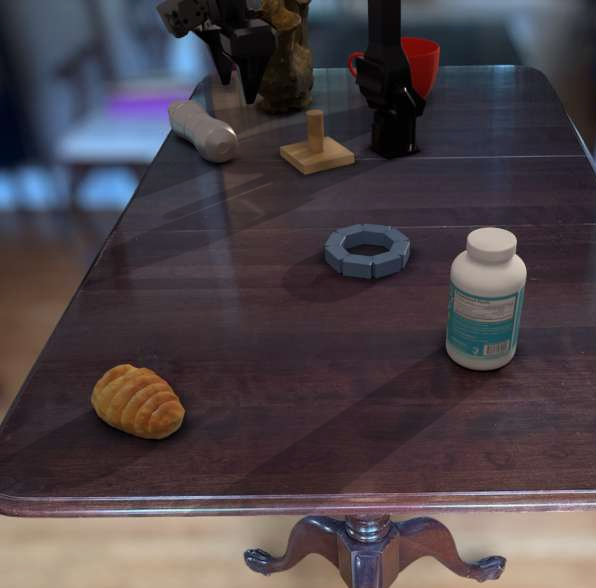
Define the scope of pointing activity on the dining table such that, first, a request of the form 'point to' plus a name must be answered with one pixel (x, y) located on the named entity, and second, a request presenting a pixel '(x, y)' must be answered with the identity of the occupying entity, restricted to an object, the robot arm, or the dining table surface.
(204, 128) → the plastic bottle
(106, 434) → the dining table surface
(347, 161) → the stand
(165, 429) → the pastry
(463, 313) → the pill bottle
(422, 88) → the ceramic cup
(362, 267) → the ring
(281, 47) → the pottery vessel
